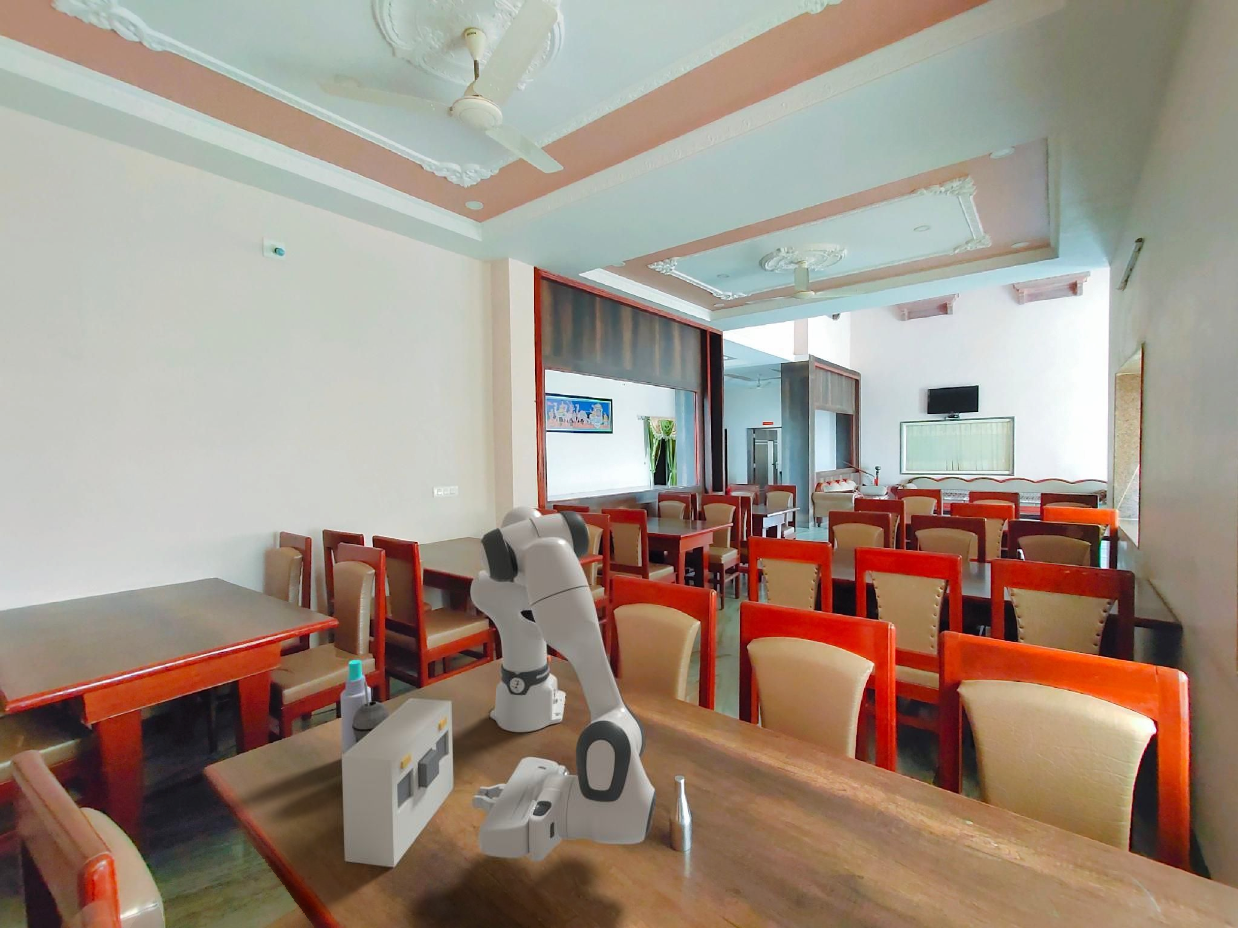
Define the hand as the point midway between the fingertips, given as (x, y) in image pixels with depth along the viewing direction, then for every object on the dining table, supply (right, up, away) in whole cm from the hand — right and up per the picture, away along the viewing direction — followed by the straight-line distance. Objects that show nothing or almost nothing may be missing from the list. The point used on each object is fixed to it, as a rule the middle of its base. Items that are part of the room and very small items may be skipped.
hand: (476, 796), depth 92 cm
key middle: (-12, -2, +9) cm, 15 cm away
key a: (-15, -2, +3) cm, 15 cm away
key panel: (-16, -10, +10) cm, 22 cm away
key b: (-13, -2, +16) cm, 20 cm away
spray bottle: (-34, -10, +30) cm, 47 cm away
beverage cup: (-28, -10, +24) cm, 38 cm away
